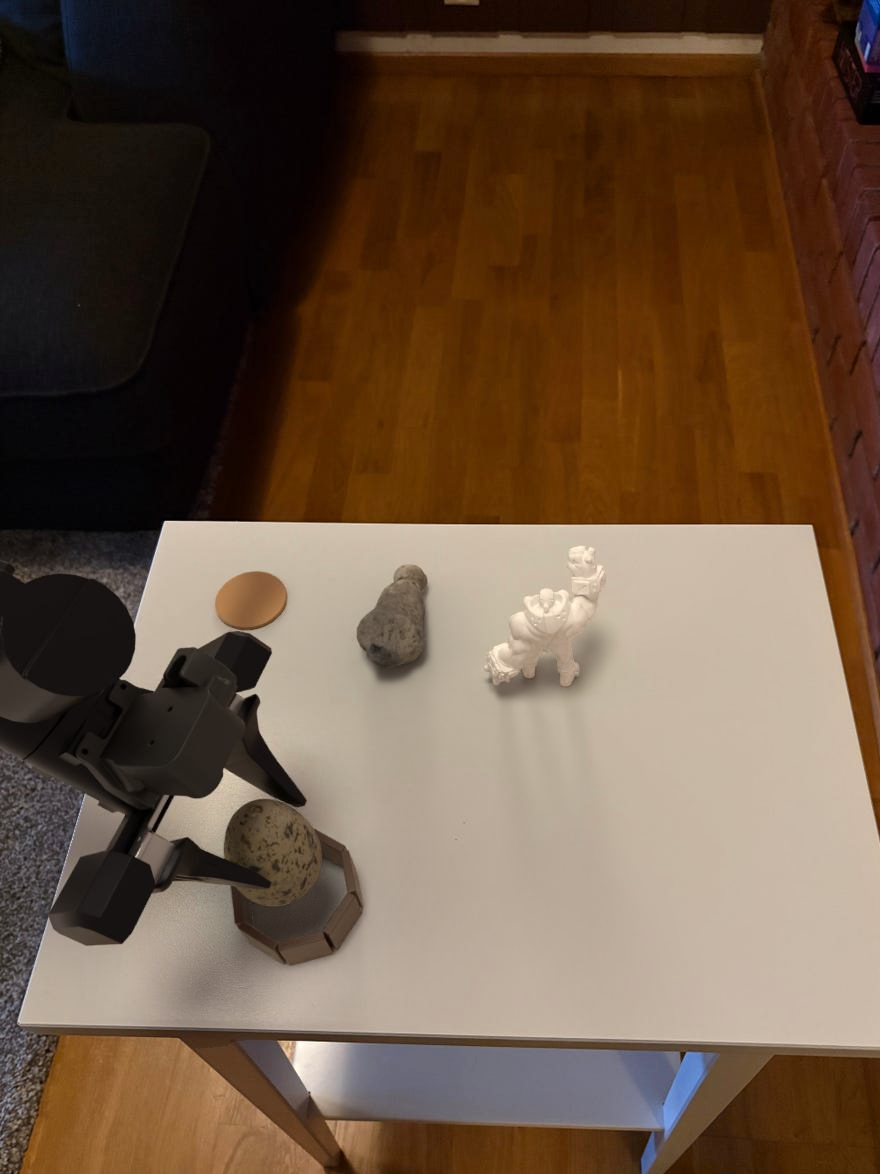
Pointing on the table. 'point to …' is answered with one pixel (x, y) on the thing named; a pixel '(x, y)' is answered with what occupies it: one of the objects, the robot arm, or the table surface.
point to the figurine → (550, 623)
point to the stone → (396, 620)
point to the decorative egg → (274, 850)
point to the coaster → (251, 600)
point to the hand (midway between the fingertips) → (285, 844)
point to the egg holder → (314, 942)
